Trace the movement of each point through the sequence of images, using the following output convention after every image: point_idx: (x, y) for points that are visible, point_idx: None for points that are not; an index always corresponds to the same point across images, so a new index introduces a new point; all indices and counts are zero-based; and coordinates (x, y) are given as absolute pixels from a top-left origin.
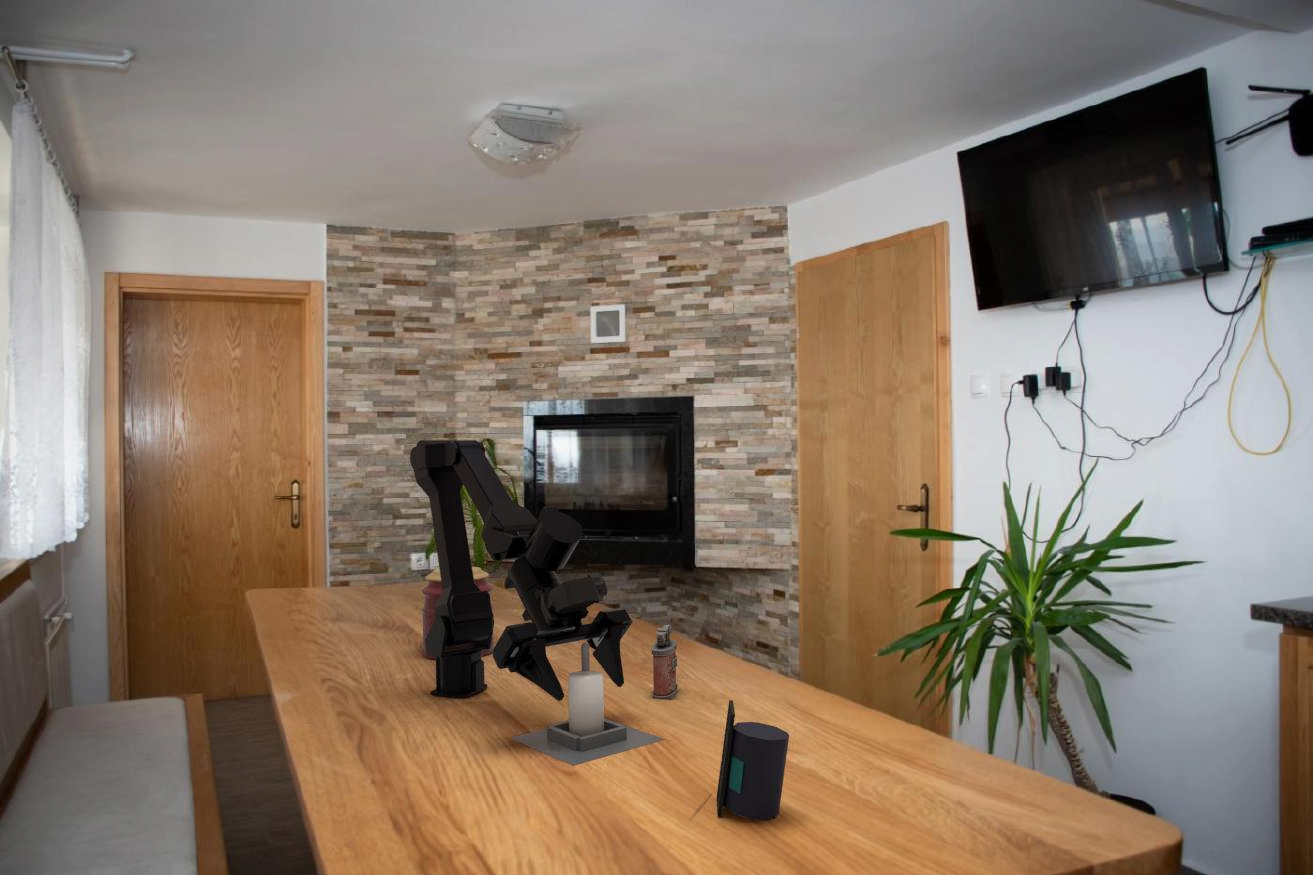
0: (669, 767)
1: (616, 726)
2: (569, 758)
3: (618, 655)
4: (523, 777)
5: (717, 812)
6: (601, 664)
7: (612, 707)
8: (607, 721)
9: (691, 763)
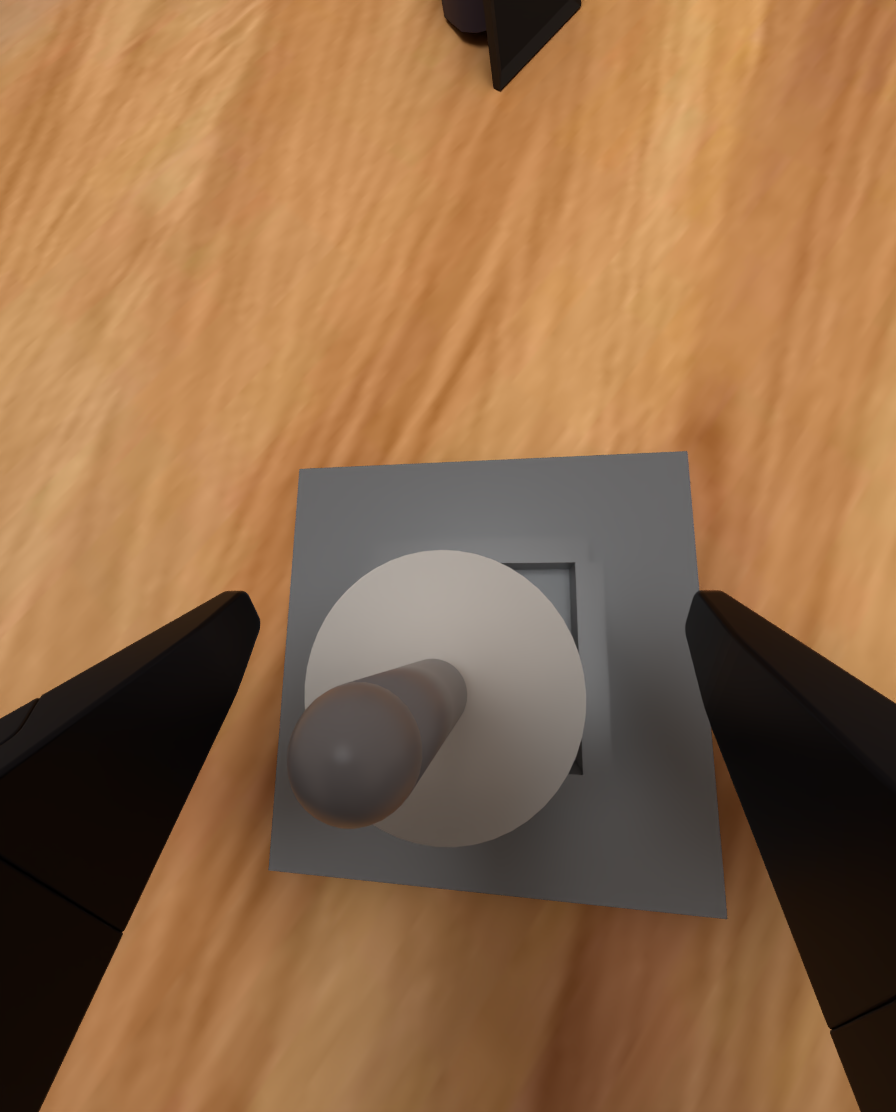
0: (440, 307)
1: None
2: (658, 517)
3: (29, 712)
4: (867, 505)
5: (564, 22)
6: (137, 882)
7: (133, 959)
8: None
9: (376, 298)
